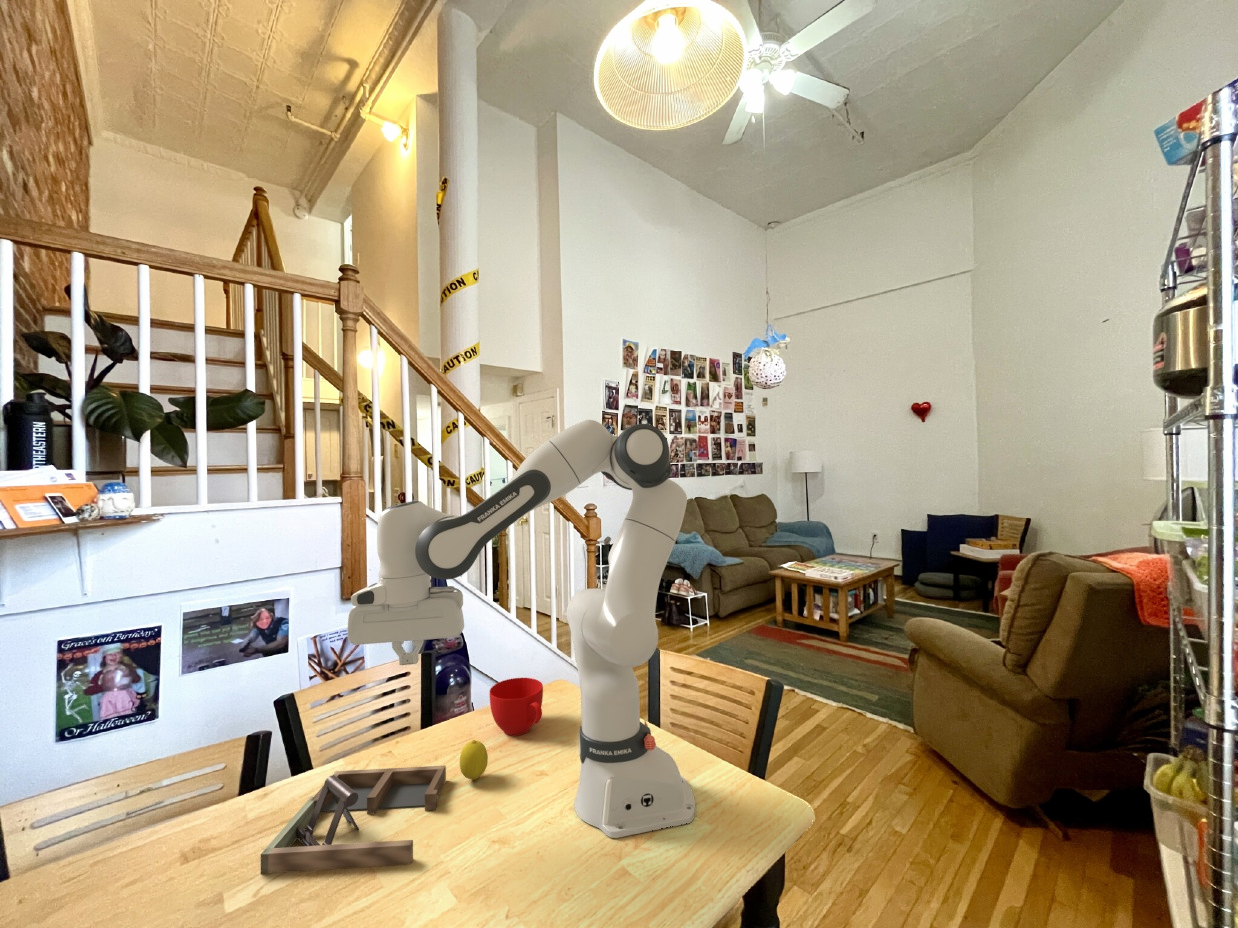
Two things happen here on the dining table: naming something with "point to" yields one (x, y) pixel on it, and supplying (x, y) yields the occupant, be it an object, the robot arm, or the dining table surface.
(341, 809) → the portable electronic device stand
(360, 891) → the dining table surface
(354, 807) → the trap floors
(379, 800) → the channel
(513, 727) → the ceramic cup
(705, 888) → the dining table surface
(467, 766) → the lemon
